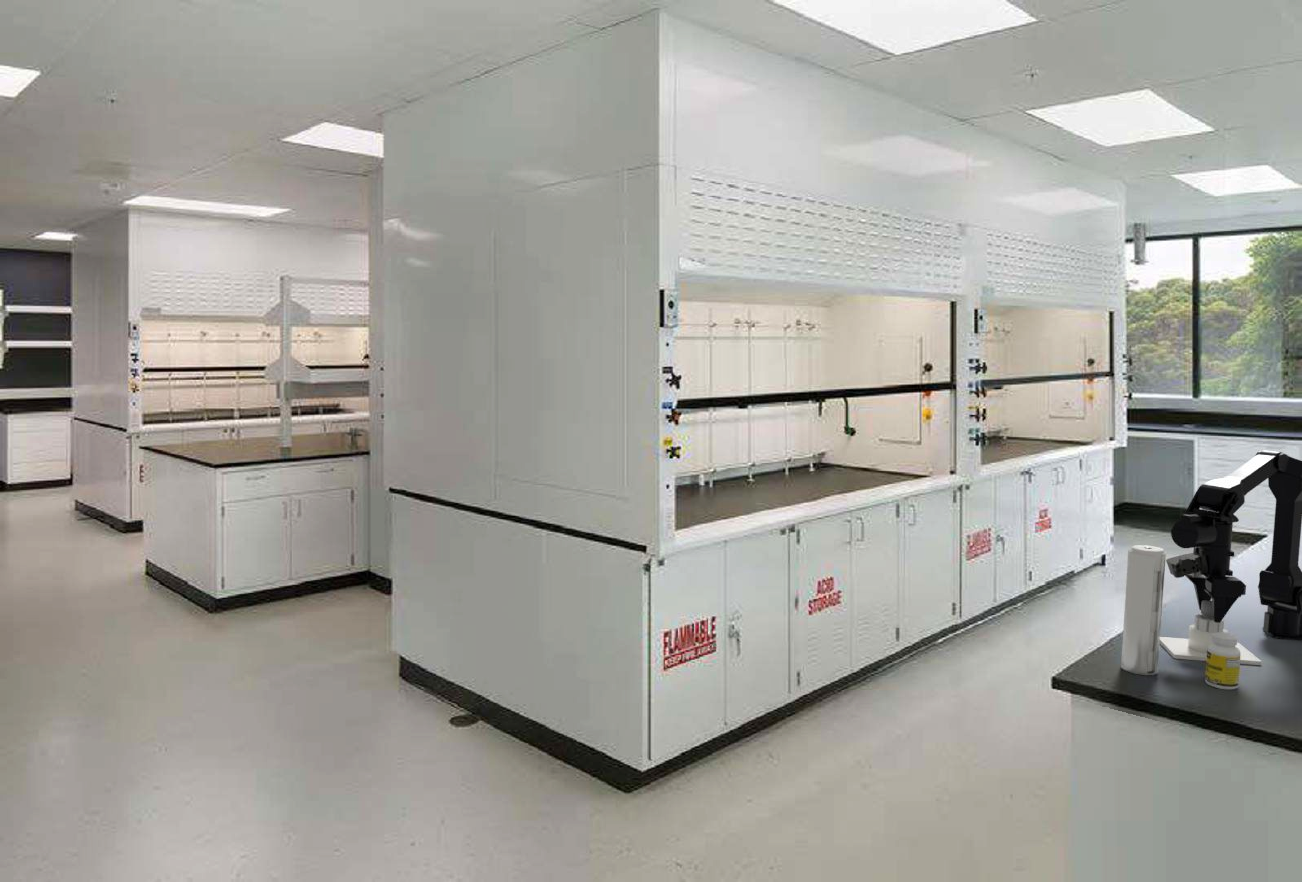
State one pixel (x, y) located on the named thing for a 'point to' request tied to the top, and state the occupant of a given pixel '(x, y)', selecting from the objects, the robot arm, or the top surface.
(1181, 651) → the tray
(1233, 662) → the supplement bottle
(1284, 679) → the top surface
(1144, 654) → the white tall cylinder
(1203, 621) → the white tiered cylinder
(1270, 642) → the top surface
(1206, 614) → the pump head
